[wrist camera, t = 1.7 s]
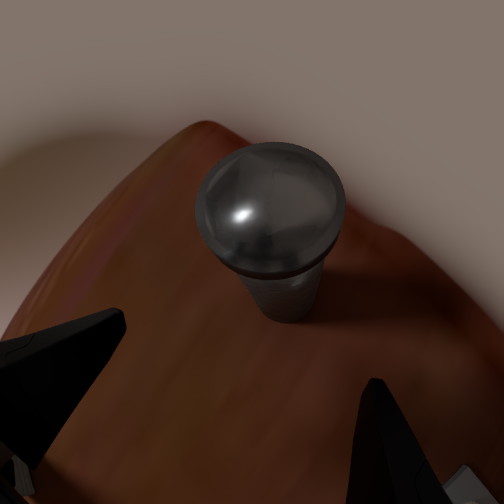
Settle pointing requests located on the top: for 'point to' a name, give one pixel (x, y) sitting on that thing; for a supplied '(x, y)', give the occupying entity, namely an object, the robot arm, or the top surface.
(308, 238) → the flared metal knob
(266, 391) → the top surface
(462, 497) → the dock
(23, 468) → the skincare box
